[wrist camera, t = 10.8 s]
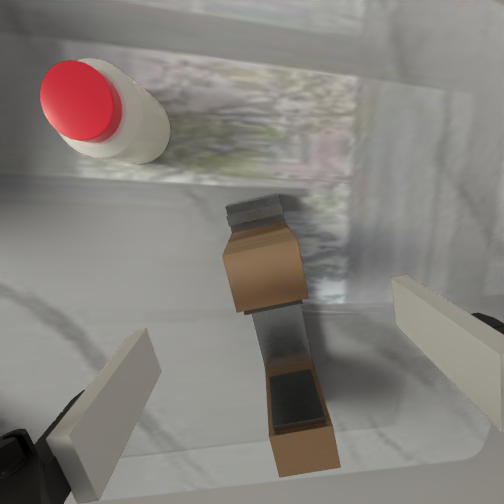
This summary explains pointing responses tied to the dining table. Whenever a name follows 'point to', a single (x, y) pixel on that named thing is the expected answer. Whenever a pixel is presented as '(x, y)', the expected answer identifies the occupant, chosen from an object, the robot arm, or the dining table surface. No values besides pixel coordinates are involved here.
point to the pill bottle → (104, 112)
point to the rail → (279, 320)
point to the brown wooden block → (264, 269)
